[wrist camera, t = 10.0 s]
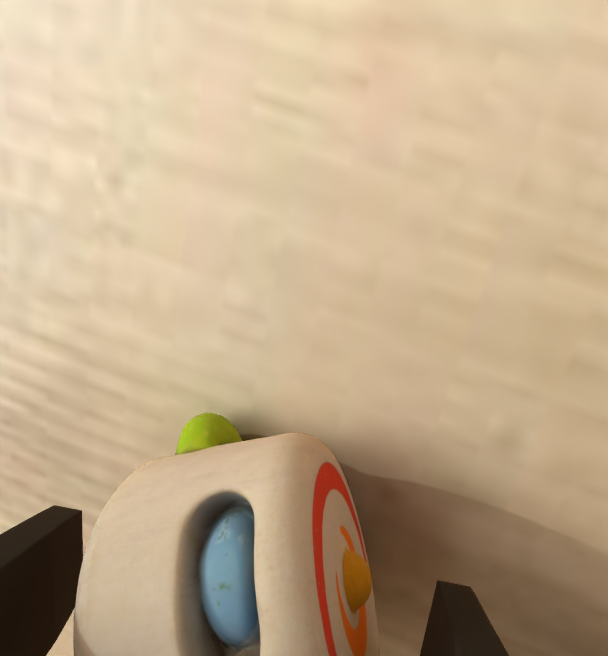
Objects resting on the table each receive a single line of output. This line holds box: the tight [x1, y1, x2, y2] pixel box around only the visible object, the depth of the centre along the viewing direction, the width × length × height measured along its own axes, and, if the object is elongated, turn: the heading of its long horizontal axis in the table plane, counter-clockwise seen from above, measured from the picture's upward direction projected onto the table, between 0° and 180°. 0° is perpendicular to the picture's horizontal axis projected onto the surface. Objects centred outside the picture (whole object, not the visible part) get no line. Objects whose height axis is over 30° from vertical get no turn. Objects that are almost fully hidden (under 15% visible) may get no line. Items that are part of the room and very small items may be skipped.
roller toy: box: [74, 413, 380, 656], centre depth 10 cm, size 4×6×6 cm
